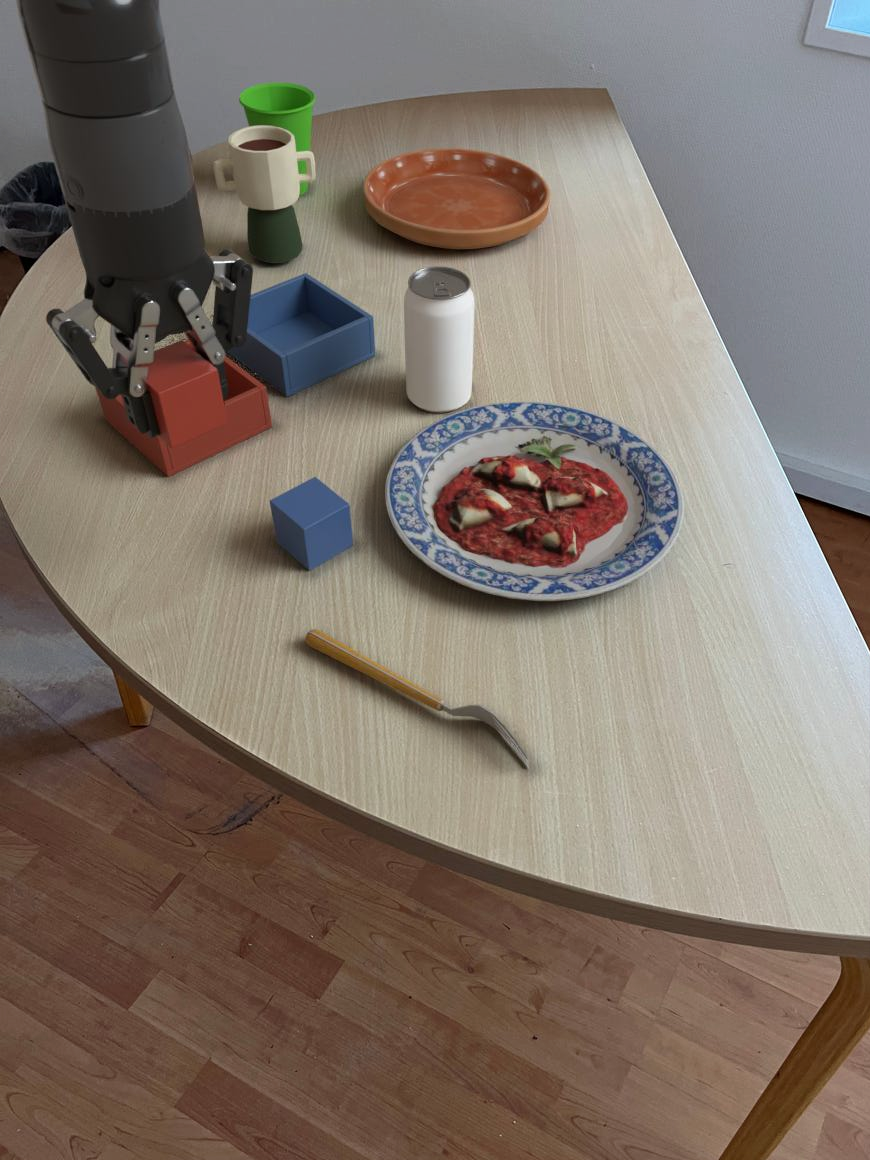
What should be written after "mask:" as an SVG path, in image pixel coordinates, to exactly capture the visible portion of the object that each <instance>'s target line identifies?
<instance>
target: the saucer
mask: <svg viewBox="0 0 870 1160" xmlns="http://www.w3.org/2000/svg"><path fill="white" fill-rule="evenodd" d="M362 185H363V187H362V191H363V193H362V194H363V202H364V206H365V209H366V211H367V213H368V215H370V217H371V218H372V219H373V220H374V221H375V222H376V223H378V224H379V225H380V226H381V227H383V228H385V229H387V230H389V231H390V232H392V233H394V234H396V235H398V236H400V237H402V238H404V239H406V240H409V241H412V242H413V243H416V244H421V245H425V246H429V247H434V248H439V249H449V250H475V249H485V248H489V247H496V246H500V245H503V244H506V243H509V242H511V241H513V240H515V239H518V238H520V237H523V236H524V235H527V234H528V233H530V232H532V231H534V230H535V229H536V228H538V227H539V226H540V225H541V224H542V223H543V222H544V221H545V220H546V218H547V216H548V212H549V207H550V203H551V201H550V200H551V190H550V187H549V185H548V183H547V181H546V180H545V179H544V178H543V176H541V175H540V173H538V172H537V170H536V171H535V170H534V169H533V168H531V167H529V166H528V165H526V164H525V163H522V162H520V161H519V160H516V159H513V158H511V157H507V156H504V155H502V154H501V155H500V154H498V153H493V152H490V151H483V150H478V149H472V148H471V149H469V148H457V147H443V148H442V147H441V148H439V147H438V148H428V149H419V150H413V151H408V152H404V153H402V154H398V155H395V156H392V157H390V158H388V159H386V160H383V161H381V162H380V163H378V164H377V165H375V166H374V167H373V168H372V169H371V170H370V171H369V172H368V173H367V174H366V176H365V178H364V181H363V184H362Z"/></svg>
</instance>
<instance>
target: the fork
mask: <svg viewBox="0 0 870 1160" xmlns="http://www.w3.org/2000/svg"><path fill="white" fill-rule="evenodd" d="M305 641H306V642H305V643H306V644H307V645H308V646H309V647H311V648H312V649H315V650H317V651H319V652H320V653H323V654H324V655H326V656H329V657H331V658H332V659H334V660H337V661H338V662H341V663H343V664H345V665H346V666H348V667H350V668H352V669H354V670H357V671H358V672H360V673H362V674H364V675H365V676H368V677H370V678H372V679H375V680H376V681H377V682H380V683H382V684H383V685H386V686H388V687H390V688H391V689H394V690H396V691H398V692H400V693H402V694H404V695H406V696H408V697H410V698H412V699H414V700H416V701H418V702H420V703H422V704H423V705H426V706H428V707H430V708H431V709H434V710H435V711H437V712H445V713H447V714H448V715H451V716H452V717H469V718H470V717H471V718H474V719H477V720H479V721H482V722H483V723H486V724H487V725H489V726H491V727H492V728H494V729H496V730H497V731H498V732H499V733H501V735H503V736H504V738H506V740H507V741H508V742H509V743H510V744H511V746H513V749H515V750H516V752H517V753H518V754H519V756H520V757H521V759H522V760H523V762H524V764H525V765H526V767H527V768H528V769H530V767H529V762H528V757H527V755H526V753H525V752H524V751H523V749H522V747H521V746H520V745H519V743H518V741H517V739H515V737H514V736H513V734H511V732H510V730H508V729H507V727H506V726H505V725H504V724H503V722H502V721H501V719H500V718H499V717H498V716H497V715H496V713H495V712H494V711H493V710H492V709H490V708H489V707H486V706H484V705H482V704H467V705H462V706H457V707H451V706H449V705H447V704H446V702H445V701H444V700H443V699H441V698H440V697H438V696H436V695H435V694H433V693H431V692H429V691H427V690H425V689H423V688H422V687H420V686H418V685H417V684H415V683H414V682H411V681H410V680H408V679H406V678H404V677H403V676H400V675H399V674H397V673H395V672H393V671H391V670H390V669H389V668H387V667H384V666H383V665H381V664H379V663H378V662H376V661H375V660H372V659H370V658H369V657H367V656H365V655H363V654H362V653H360V652H358V651H356V650H354V649H352V648H351V647H349V646H347V645H346V644H344V643H342V642H340V641H338V640H337V639H335V638H333V637H332V636H330V635H327V634H326V633H325V632H322V631H321V630H319V629H315V628H314V629H310V630H309V631H307V633H306V635H305Z"/></svg>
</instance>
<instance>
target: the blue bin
mask: <svg viewBox="0 0 870 1160" xmlns="http://www.w3.org/2000/svg"><path fill="white" fill-rule="evenodd" d="M374 323H375V322H374V316H373V315H372V314H370V313H369V312H367V311H365V309H362V308H361V307H359V306H358V305H356V304H354V303H353V302H352V301H350V300H349V299H347V298H346V297H344V296H343V295H341V294H339V293H338V292H337V291H335V290H333V289H331V288H330V287H329V286H327V285H325V284H324V283H323V282H321V281H319V280H318V279H316V278H314V277H313V276H312V275H310V274H308V273H307V272H305V273H302V274H300V275H297V276H294V277H292V278H290V279H286V280H284V281H282V282H279V283H276V284H275V285H272V286H269V287H267V288H264V289H262V290H259V291H257V292H254V293H251V296H250V306H249V316H248V326H247V335H246V341H245V343H244V345H243V346H241V347H239V348H236V347H232V348H231V349H230V350H229V351H228V352H227V354H229V355H231V356H232V357H233V358H235V359H236V361H238V362H240V363H241V364H242V365H243V366H245V367H246V368H247V369H249V370H250V371H252V373H254V374H255V375H257V376H258V377H259V378H261V379H262V380H263V381H265V382H266V383H267V384H269V385H270V386H271V387H272V388H274V389H275V390H277V391H278V392H279V393H280V394H282V395H283V396H284V397H286V398H289V397H290V396H292V395H295V394H297V393H299V392H301V391H303V390H305V389H308V388H310V387H312V386H314V385H316V384H318V383H320V382H323V381H324V380H328V379H329V378H332V377H333V376H335V375H337V374H339V373H342V372H344V371H346V370H349V369H350V368H352V367H354V366H357V365H359V364H361V363H363V362H365V361H367V360H369V359H371V358H373V357H375V356H376V343H375V324H374Z"/></svg>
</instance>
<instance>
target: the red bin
mask: <svg viewBox="0 0 870 1160" xmlns="http://www.w3.org/2000/svg"><path fill="white" fill-rule="evenodd" d="M183 341H184V342H185V343H186V344H188V345H189V346H190V347H191V348H192V349H194V350H195V351H196V349H195V348H194V347H193V346H192V344H191V343H190V341H189V339H188V338H187V339H186V340H183ZM196 352H197V351H196ZM224 367H225V372H226V379H227V384H228V389H229V391H228V397H227V398H224V402H225V406H224V407H225V413H226V418H227V424H225V425H223V426H221V427H219V428H216V429H214V430H212V431H210V432H207V433H205V434H203V435H201V436H198V437H196V438H194V439H192V440H190V441H187V442H185V443H183V444H181V445H178V446H176V447H174V448H171V447H170V446H168V445H167V444H166V443H165V442H164V441H163V440H162V439H161V438H160V437H159V436H156V437H154V438H150V437H149V436H148V435H147V434H146V433H144V434H142V433H141V432H140V431H139V430H138V429H137V428H136V427H135V426H133V425H132V424H131V422H130V421H129V420H128V418H127V414H126V411H125V407H124V403H123V400H122V396H121V395H118V396H117V397H116V398H114V399H107V398H105V397H104V396H103V395H102V394H101V393H100V391H99V390H98V389H97V388H96V387H95V386H94V388H95V392H96V394H97V398H98V401H99V404H100V407H101V410H102V414H103V416H104V417H103V418H104V419H105V421H106V422H107V423H109V424H110V426H112V427H113V428H114V429H115V430H116V431H118V432H119V434H121V435H122V436H123V437H124V438H125V439H126V440H127V441H128V442H129V443H131V444H132V445H133V446H134V447H135V448H136V449H137V450H138V451H139V452H140V453H141V454H142V455H144V456H145V457H146V458H147V459H148V460H149V461H150V462H151V463H153V465H155V466H156V467H157V468H158V469H159V470H160V471H161V472H163V474H164V475H166V476H167V477H168V478H170V477H173V476H174V475H175V474H178V473H180V472H182V471H185V470H186V469H188V468H191V467H193V466H194V465H197V464H199V463H201V462H203V461H206V460H207V459H209V458H211V457H213V456H215V455H217V454H220V453H222V452H223V451H226V450H228V449H230V448H232V447H234V446H236V445H239V444H240V443H242V442H245V441H246V440H248V439H250V438H253V437H255V436H257V435H259V434H262V433H263V432H265V431H267V430H269V429H271V428H273V423H272V417H271V411H270V404H269V398H268V391H267V387H266V385H264V384H263V383H261V382H260V381H259V380H258V379H256V378H255V377H254V376H253V375H251V374H250V373H249V372H247V371H246V370H245V369H243V368H242V367H241V366H239V365H238V364H237V363H235V362H234V361H233V360H231V359H230V358H229V357H227V356H226V357H225V360H224Z"/></svg>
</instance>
